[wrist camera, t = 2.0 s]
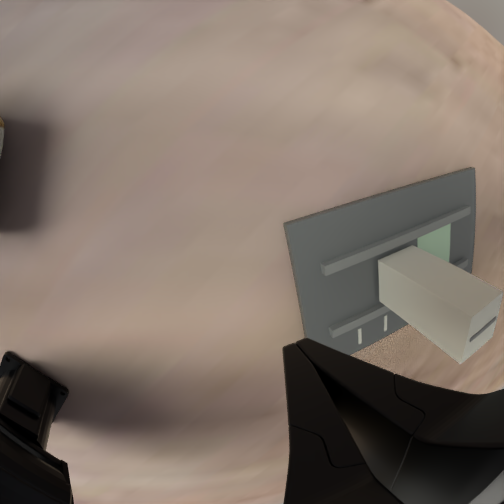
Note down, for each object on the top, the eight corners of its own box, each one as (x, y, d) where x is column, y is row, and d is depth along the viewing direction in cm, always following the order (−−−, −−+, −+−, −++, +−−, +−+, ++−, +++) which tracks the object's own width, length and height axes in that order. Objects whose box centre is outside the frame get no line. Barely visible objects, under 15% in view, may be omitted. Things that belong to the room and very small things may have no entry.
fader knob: (379, 301, 25) (461, 365, 15) (378, 260, 23) (472, 318, 14) (411, 284, 25) (493, 337, 16) (412, 245, 24) (504, 291, 15)
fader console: (310, 368, 26) (315, 376, 25) (283, 223, 21) (290, 227, 20) (466, 282, 30) (473, 286, 29) (470, 167, 25) (479, 168, 24)
